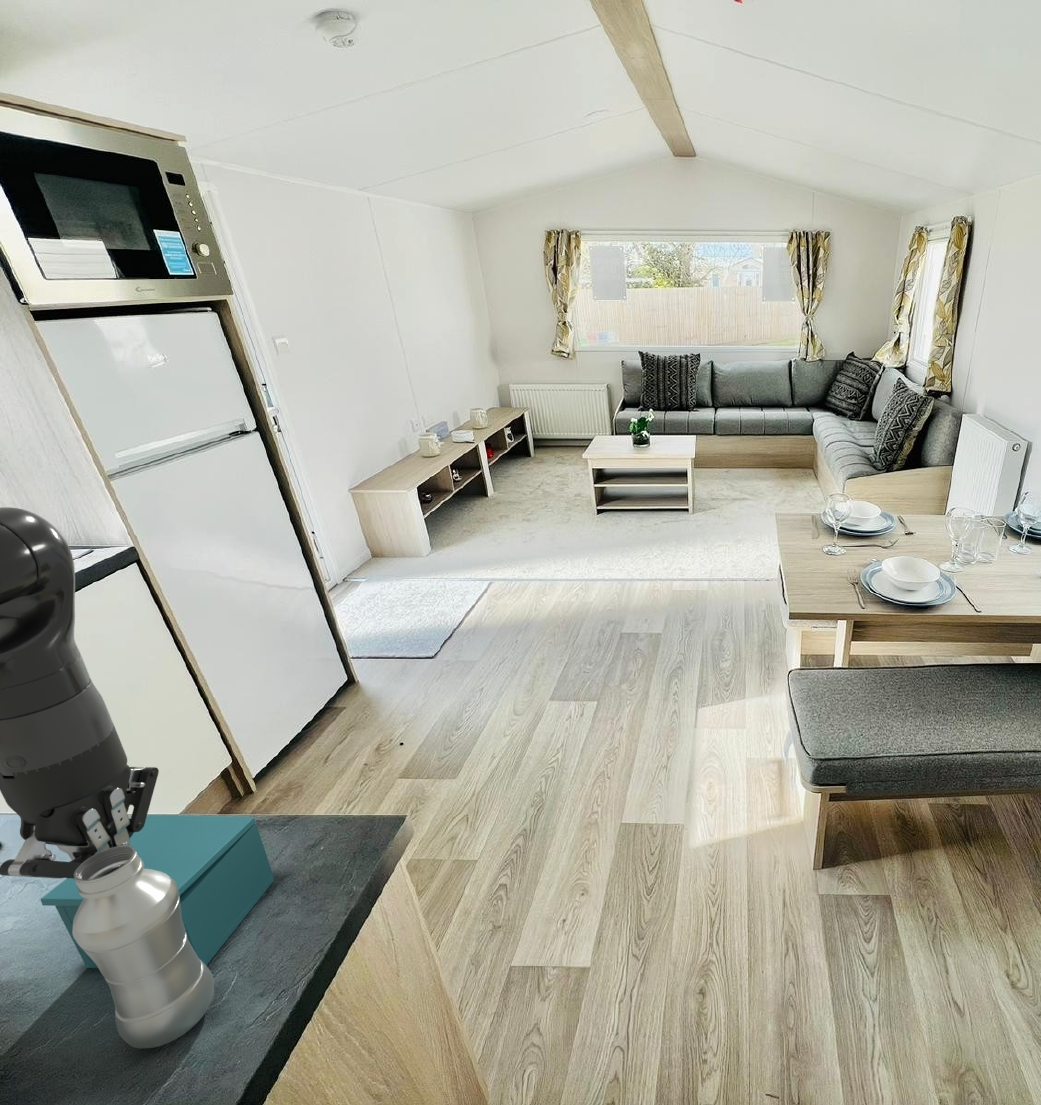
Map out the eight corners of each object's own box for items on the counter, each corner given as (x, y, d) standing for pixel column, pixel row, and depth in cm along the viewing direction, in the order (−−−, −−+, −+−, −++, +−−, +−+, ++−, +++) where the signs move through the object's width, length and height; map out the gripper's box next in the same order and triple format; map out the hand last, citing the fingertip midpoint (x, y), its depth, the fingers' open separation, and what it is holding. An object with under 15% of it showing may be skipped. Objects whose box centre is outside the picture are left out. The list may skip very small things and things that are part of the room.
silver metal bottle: (125, 1020, 58) (46, 862, 51) (216, 971, 62) (156, 819, 55) (128, 1077, 54) (43, 914, 46) (226, 1021, 58) (162, 863, 51)
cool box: (203, 969, 63) (177, 907, 59) (86, 968, 62) (54, 905, 59) (274, 880, 72) (256, 822, 69) (174, 878, 72) (150, 820, 69)
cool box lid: (167, 907, 58) (165, 901, 58) (41, 905, 58) (39, 899, 58) (256, 822, 69) (254, 816, 69) (150, 820, 69) (148, 814, 69)
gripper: (82, 694, 59) (139, 831, 65) (-88, 795, 47) (3, 952, 53) (162, 695, 59) (211, 832, 66) (14, 797, 47) (92, 953, 53)
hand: (118, 886), depth 59 cm, fingers closed
